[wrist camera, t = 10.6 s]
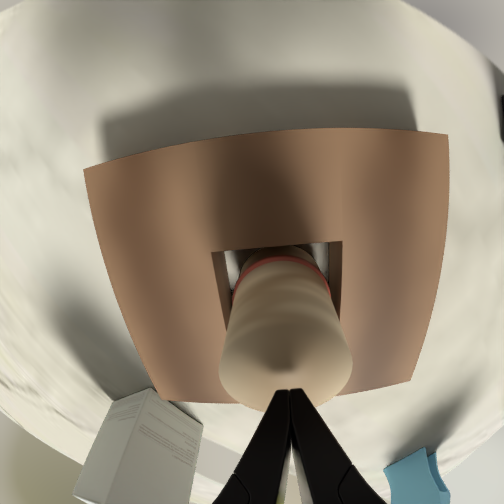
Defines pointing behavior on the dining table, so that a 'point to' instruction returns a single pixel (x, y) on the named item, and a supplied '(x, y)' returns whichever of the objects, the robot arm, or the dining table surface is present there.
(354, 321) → the walnut board
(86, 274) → the dining table surface
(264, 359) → the beech peg
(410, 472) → the vase
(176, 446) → the supplement box
